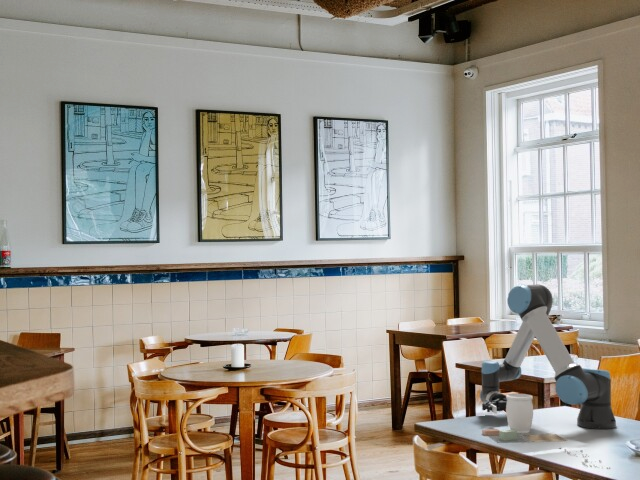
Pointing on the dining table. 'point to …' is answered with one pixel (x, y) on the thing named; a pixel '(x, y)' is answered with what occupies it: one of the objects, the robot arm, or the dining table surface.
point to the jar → (519, 412)
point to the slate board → (519, 439)
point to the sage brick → (508, 434)
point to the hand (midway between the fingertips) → (512, 409)
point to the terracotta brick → (490, 432)
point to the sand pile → (544, 438)
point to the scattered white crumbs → (585, 459)
